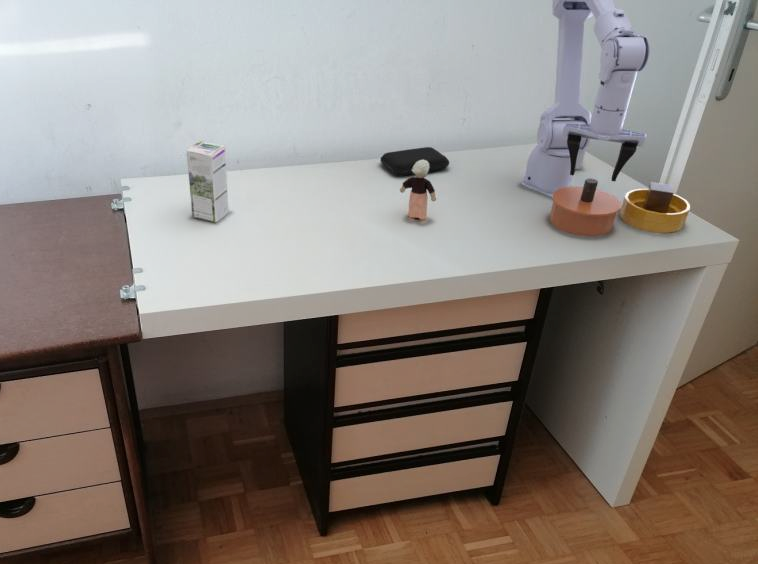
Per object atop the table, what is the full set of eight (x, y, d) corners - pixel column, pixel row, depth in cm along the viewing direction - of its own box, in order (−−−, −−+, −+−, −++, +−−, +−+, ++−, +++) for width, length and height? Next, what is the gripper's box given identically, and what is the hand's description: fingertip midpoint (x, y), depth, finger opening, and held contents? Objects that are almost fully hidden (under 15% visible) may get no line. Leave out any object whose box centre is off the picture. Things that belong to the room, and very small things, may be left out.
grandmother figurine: (435, 218, 149) (443, 159, 142) (432, 226, 146) (439, 166, 139) (398, 213, 151) (404, 154, 144) (394, 220, 148) (400, 161, 141)
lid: (538, 202, 146) (543, 178, 143) (576, 186, 153) (582, 162, 150) (595, 225, 138) (602, 200, 135) (632, 207, 145) (640, 183, 142)
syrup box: (229, 212, 151) (226, 144, 142) (215, 224, 146) (211, 154, 138) (206, 207, 153) (201, 139, 144) (191, 218, 148) (185, 149, 140)
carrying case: (429, 154, 178) (374, 162, 173) (430, 142, 176) (375, 149, 172) (451, 170, 170) (395, 179, 165) (453, 158, 168) (396, 166, 164)
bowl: (607, 218, 150) (613, 198, 148) (639, 203, 156) (645, 183, 154) (662, 241, 143) (670, 220, 140) (694, 223, 149) (701, 203, 146)
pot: (537, 222, 149) (542, 199, 146) (571, 206, 155) (577, 184, 152) (588, 244, 141) (595, 221, 138) (623, 227, 147) (629, 204, 144)
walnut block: (640, 221, 148) (650, 189, 144) (640, 213, 151) (650, 181, 147) (662, 225, 147) (673, 193, 143) (662, 216, 150) (673, 185, 146)
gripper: (568, 107, 133) (552, 178, 141) (653, 118, 129) (631, 190, 137) (571, 96, 138) (555, 165, 146) (653, 106, 134) (632, 176, 142)
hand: (592, 176), depth 142 cm, fingers open, 7 cm apart
